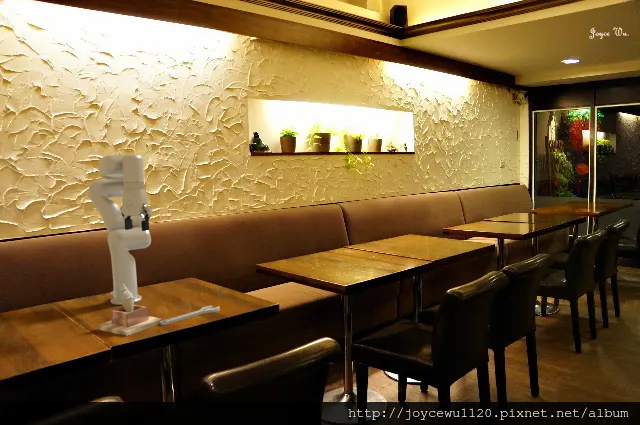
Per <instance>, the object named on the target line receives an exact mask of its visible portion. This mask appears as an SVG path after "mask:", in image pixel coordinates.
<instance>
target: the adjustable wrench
mask: <svg viewBox="0 0 640 425" xmlns="http://www.w3.org/2000/svg"><path fill="white" fill-rule="evenodd" d="M220 311H221V308H220V306H219V305H218V306H216V307H214V306H213V305H206V306H204V307H203V306H202V307H201V308H200V309H199V310H195V311H192V312H188V313H184V314H180V315H178V316H174V317H170V318H166V319H163V321H160V324H159V325H161V326H167V325H171V324H173V323H176V322H179V321H184V320H187V319H191V318H195V317H197V316H200V315H206V314H212V313H218V312H220Z"/></svg>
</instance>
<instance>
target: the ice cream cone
mask: <svg viewBox="0 0 640 425" xmlns="http://www.w3.org/2000/svg"><path fill="white" fill-rule="evenodd" d="M119 299H120V301H121V302H120V303H121V304H122V305H121V307H124V309H125V311H126V312H127V313H128V312H131V311H133V310H134V305H135V303H134V297H133V294H132V293H131V292H130V291H128V288H127V287H126V286H125V285H124V283H123V286H122V290H121V295H120V297H119Z"/></svg>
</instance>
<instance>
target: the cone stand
mask: <svg viewBox="0 0 640 425" xmlns="http://www.w3.org/2000/svg"><path fill="white" fill-rule="evenodd" d="M110 314H111V320H109V321H106V322H104V323H100V324H97V330H99V331H103V332H108V333H112V334H115V335H116V334H117V335H120V334H121V336H124V335H125V336H124V337H128V335H129V336H131V335H134V334H136V333H140V332H141V331H144V330H147V329H150V328H152V327H155V326H157V325H160V321H163V320H164V319H163V318H160V317H156V316H155V317H154V316H151V315H149V308H148V306H144V305H139V304H134V310H133V311H131V312H128V313H127V312H126V311H125V309H124V307H123V306H120V307H118V308H115V309H112V310H110Z"/></svg>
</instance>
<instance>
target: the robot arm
mask: <svg viewBox="0 0 640 425" xmlns="http://www.w3.org/2000/svg"><path fill="white" fill-rule="evenodd" d="M99 162H100V163H99V166H98V174H99V175H100V177H101V178H102V179H98V180H93V181H92V182H90V184H89V186H88V195H89V199H90V201H91V203H92V204H93V206H94V207H95V209H96V210H97V211H98V212H99V214H100V216H101V219H102V221H103V224H104V226H105V228H106V230H107V232H108V235H107V244H108V248H109V252H110V258H111V272H112V283H113V284H112V285H113V290H112V291H111V292H110V295H112V296H113V298H111V299H110V303H111V304H112V305H117V306H118V305H121V306H122V304H121V303H120V302H121V301H120V299H119V297H120V295H121V290H122V286H123V283H124V285H125V286H126V287H127V288H128V291H130V292H131V293H132V294H133V297H134V304H135V303H138V302H140V301H141V300H142V299H143V298H142V297H143V296H142V295H140V294H139V292H138V282H137V280H138V278H137V265H136V259H135V257H134V256H133V255H132V254H131V253H130V252H129V251H132V250H140V249H146V248H148V247H149V246H150V245H151V243H152V237H151V233H150V221H151V220H150V219H151V216H152V213H153V209H152V208H151V207H149V204H148V197H147V193H146V189H145V179H144V178H145V176H144V165H143V164H144V161H143V157H142V156H141V155H140V154H113V155H111V154H110V155H109V154H108V155H105V156H102V157H101V159H100V161H99ZM110 198H111V199H110ZM112 198H121V199H122V200H121V203H122V204H121V207H120V206H119V204H118V203H117V202H115V201H114V200H112Z"/></svg>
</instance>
